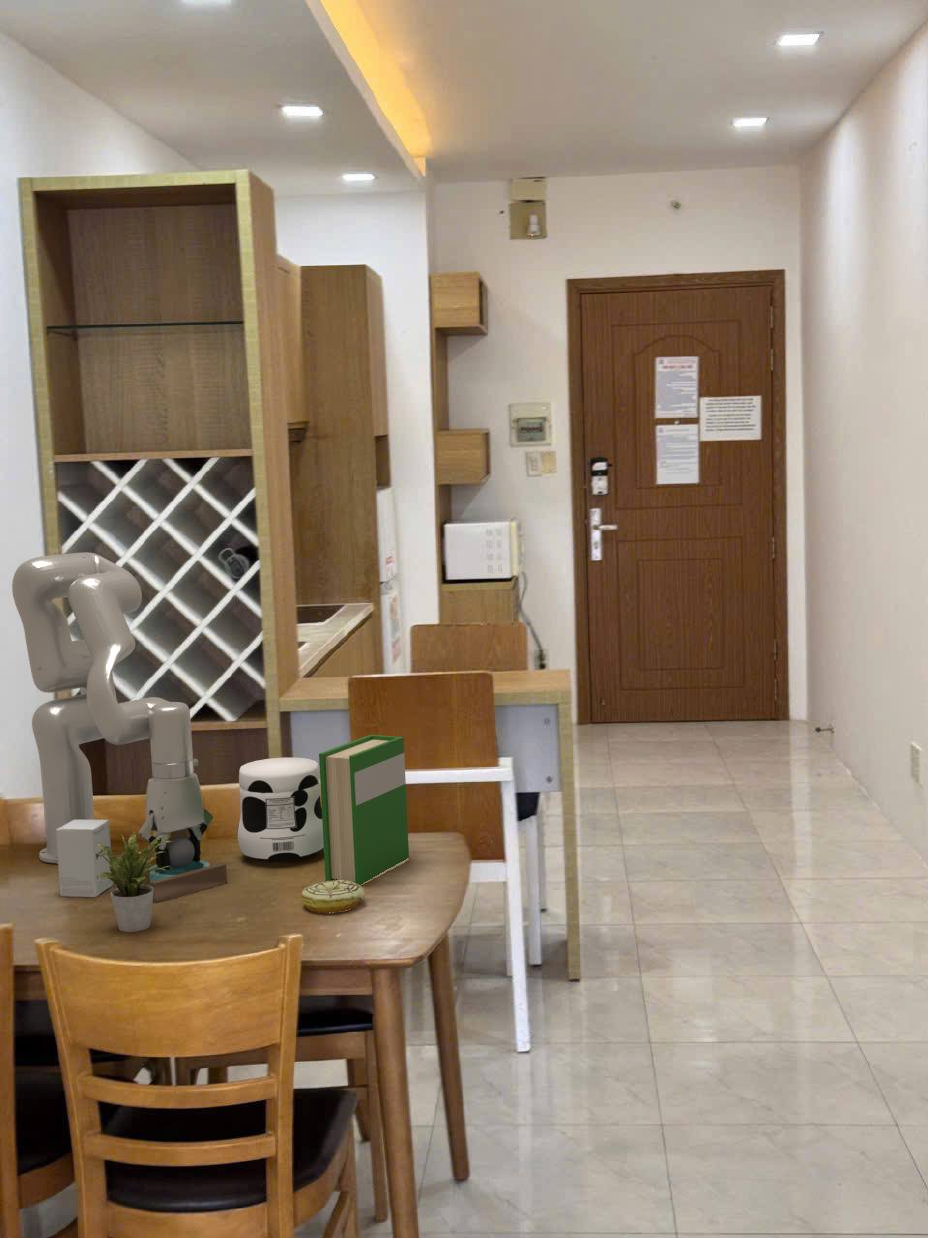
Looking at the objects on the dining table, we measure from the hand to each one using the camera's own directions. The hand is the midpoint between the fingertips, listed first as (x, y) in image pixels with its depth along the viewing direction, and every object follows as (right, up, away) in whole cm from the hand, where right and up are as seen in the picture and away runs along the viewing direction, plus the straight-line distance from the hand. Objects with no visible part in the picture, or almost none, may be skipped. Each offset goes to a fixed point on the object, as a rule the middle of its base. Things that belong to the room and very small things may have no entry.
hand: (178, 863), depth 270 cm
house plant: (-1, -6, -26) cm, 27 cm away
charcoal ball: (0, +2, 0) cm, 2 cm away
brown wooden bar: (+4, -4, -7) cm, 9 cm away
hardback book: (+35, -2, +1) cm, 35 cm away
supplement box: (-16, -4, -4) cm, 17 cm away
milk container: (+18, -1, +14) cm, 22 cm away
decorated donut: (+31, -5, -18) cm, 36 cm away
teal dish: (0, -3, 0) cm, 3 cm away
